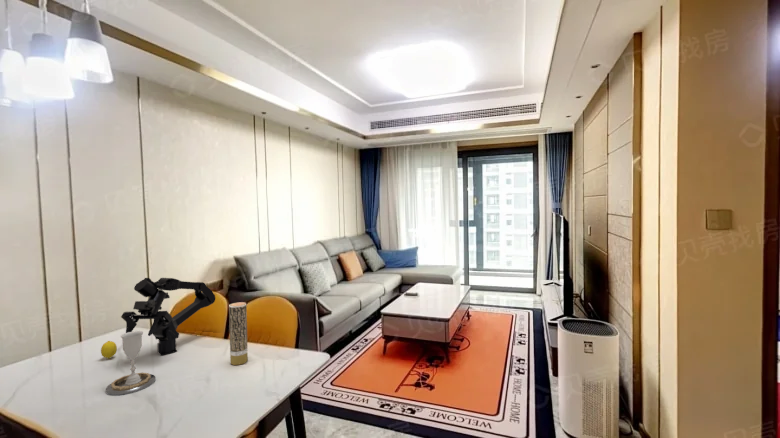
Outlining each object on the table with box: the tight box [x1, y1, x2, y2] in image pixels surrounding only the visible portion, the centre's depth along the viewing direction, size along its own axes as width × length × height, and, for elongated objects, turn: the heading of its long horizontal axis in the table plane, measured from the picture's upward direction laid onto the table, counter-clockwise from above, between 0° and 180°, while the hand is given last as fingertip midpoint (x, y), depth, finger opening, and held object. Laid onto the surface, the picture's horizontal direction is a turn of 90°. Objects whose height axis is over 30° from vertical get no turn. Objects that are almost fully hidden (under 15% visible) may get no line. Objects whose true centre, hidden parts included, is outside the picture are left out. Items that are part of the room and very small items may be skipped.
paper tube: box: [228, 301, 249, 366], centre depth 150 cm, size 7×7×25 cm
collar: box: [105, 372, 157, 396], centre depth 131 cm, size 15×15×2 cm
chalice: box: [120, 330, 144, 385], centre depth 132 cm, size 7×7×18 cm
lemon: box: [100, 340, 118, 360], centre depth 156 cm, size 6×6×8 cm
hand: (137, 335), depth 146 cm, fingers open, 9 cm apart
